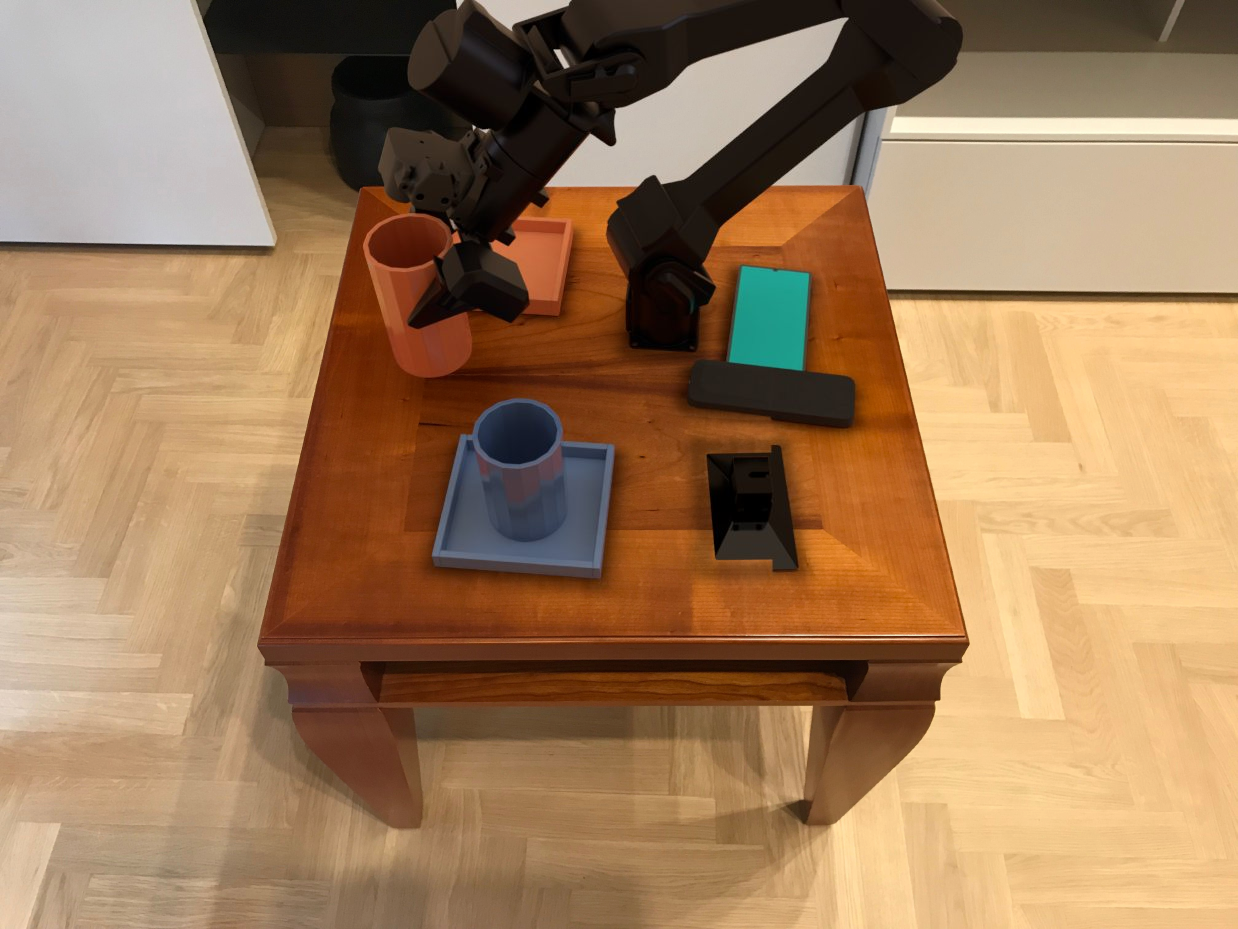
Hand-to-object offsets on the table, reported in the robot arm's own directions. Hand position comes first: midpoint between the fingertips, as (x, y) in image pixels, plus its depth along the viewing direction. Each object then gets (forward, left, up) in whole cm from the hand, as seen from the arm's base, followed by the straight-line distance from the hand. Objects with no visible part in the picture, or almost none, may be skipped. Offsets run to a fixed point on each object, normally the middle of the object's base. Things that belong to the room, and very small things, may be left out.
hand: (403, 296), depth 77 cm
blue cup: (-11, +13, -11) cm, 20 cm away
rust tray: (-4, -16, -11) cm, 21 cm away
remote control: (-31, -2, -11) cm, 33 cm away
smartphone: (-31, -10, -11) cm, 35 cm away
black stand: (-29, +11, -12) cm, 33 cm away
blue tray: (-11, +13, -11) cm, 20 cm away
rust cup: (-1, -1, -7) cm, 7 cm away
